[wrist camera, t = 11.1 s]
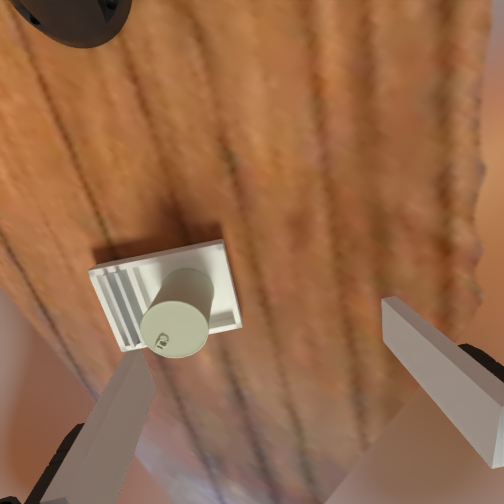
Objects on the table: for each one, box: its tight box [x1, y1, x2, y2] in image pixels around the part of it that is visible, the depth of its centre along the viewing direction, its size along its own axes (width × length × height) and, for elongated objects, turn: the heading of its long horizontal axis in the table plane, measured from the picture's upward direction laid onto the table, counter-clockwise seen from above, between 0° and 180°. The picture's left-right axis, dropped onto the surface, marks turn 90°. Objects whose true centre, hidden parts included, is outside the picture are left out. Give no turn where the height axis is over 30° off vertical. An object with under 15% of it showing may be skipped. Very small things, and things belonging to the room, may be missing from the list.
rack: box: [87, 239, 242, 352], centre depth 46 cm, size 16×22×4 cm
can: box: [140, 268, 214, 358], centre depth 41 cm, size 9×9×12 cm
